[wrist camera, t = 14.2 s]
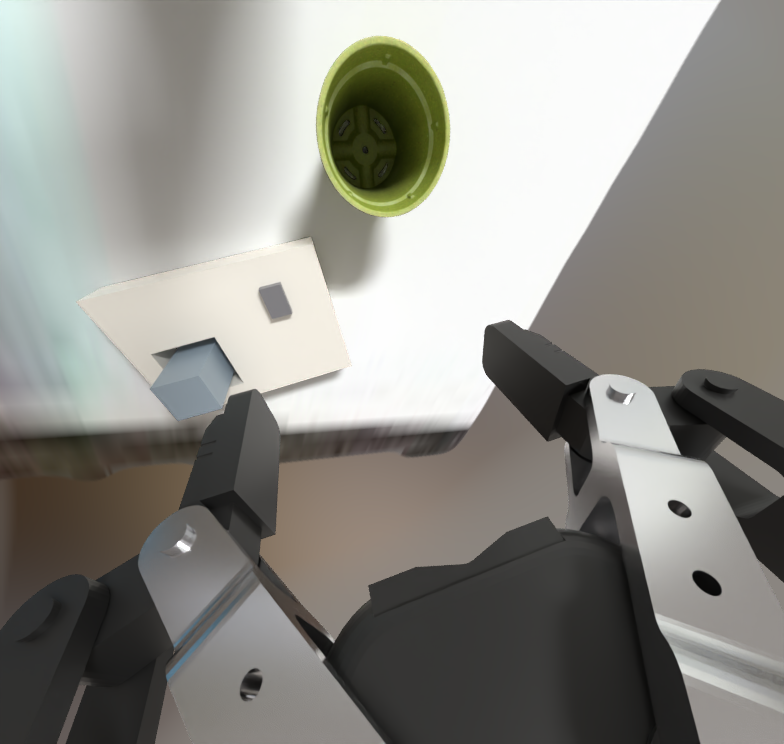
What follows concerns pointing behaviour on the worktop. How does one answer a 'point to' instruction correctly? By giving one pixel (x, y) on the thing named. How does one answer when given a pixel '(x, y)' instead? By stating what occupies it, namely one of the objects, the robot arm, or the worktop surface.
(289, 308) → the outlet plate
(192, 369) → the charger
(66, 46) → the worktop surface
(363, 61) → the plant pot
